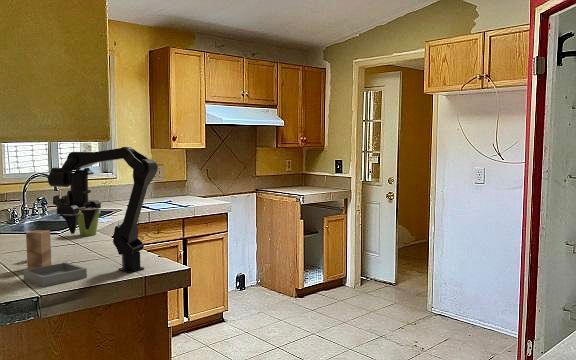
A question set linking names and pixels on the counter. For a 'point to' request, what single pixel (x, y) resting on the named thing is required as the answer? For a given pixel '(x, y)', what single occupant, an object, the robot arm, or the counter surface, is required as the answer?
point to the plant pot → (93, 227)
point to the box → (55, 274)
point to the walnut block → (38, 248)
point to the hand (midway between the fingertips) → (80, 231)
